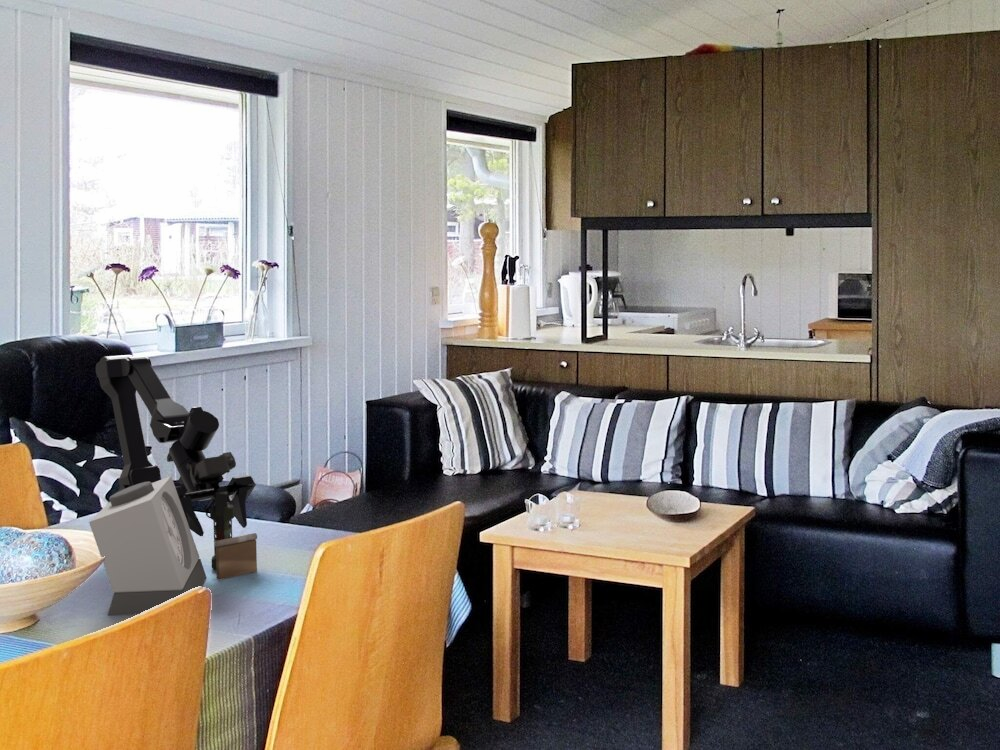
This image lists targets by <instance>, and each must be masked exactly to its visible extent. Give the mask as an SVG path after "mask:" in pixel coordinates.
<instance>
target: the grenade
mask: <svg viewBox="0 0 1000 750" xmlns="http://www.w3.org/2000/svg"><path fill="white" fill-rule="evenodd" d="M227 494H228V492H217V493H216V494H215V495H214V496H213V498H212V499H209V501H207V504H205V505H204V506H203V509H202V510H203V512H205V516H206V517H207V518H208V519H211V520H212V521H213V543H214V542H215V541H218V540H223V539H228V538H233V519H234V518H235V516H234V515H235V508H234V506H233V505H230V503H228V502H227V501H230V502H233V501H231V500H230V499H229V496H230V493H229V494H228V499H229V500H228V499H227ZM233 503H235V502H233ZM208 514H209V515H208ZM213 547H214V551H213V552H214V554H213V556H212V557H211V569H212V570H213V571H216V547H215V545H214V544H213Z"/></svg>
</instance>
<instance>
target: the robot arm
mask: <svg viewBox="0 0 1000 750" xmlns="http://www.w3.org/2000/svg"><path fill="white" fill-rule="evenodd" d="M95 375H96V377H97V378H98V381H99V385H100V388H101V390H102V391H103V392H104V393H105V394H106V395H107V396H108V397H109V398H110V401H111V403H112V407H113V414H114V419H115V425H116V428H117V434H118V440H119V445H120V449H121V454H122V455H121V456H122V461H123V468H122V471H121V473H120V476H119V477H118V484H119V485H118V486H119V489H118V490H117V492H119V491H121V490H123V489H126V488H128V487H131V486H133V485H136V484H139V483H143V482H148V481H149V482H151V483H153V482H156V481H159V480H162V476H161V469H160V468H159V466H158V465H153V464H152V463H151V461H149V458H148V454H147V449H146V447H147V446H146V444H145V442H146V441H145V438H144V433H143V426H142V423H141V418H140V413H139V408H138V403H137V402H138V401H137V395H136V392H137V393H138V395H139V397H140V398H141V401H142V402H143V403H144V405H145V407H146V408H147V409H146V410H147V411H148V413H149V414H150V423H149V426H150V428H151V431H152V435H153V437H154V438H155V439H156V440H157V442H159V443H160V444H164V443H172V442H173V443H172V445H171V446H170V447H169V449H168V453H167V456H166V461H167V462H168V463H170V462H173V463H174V466H175V467H176V470H177V472H178V474H179V479H178V483H179V484H180V485H176V486H175V488H176V491H177V494H178V497H179V499H180V502H181V505H182V508H183V511H184V514H185V517H186V519H187V522H188V525H189V528H190V531H192V532H194V533H195V534H196V535H197V536H199V537H203V535H204V534H205V532H204V528H203V527H202V526H203V525H202V524H201V522H200V520H199V518H198V515H197V514H196V512H195V510H194V508H193V502H198V501H199V502H200V501H207V500H211V499H212V498H213V496H214V495H215V494H216V493H217V492H228V494H229V493H230V496H229V499H230V500H231V501H233V502H235V503H233V502H230V501H227V503H228V504H230V505H233V506H234V508H235V515H234V518H235V519H236V521H237V522H238V524H239V525H240V526H241V527H242V528H243V529H245V528H246V527H247V525H248V522H247V521H248V520H247V509H246V507H247V505H246V504H247V503H246V501H247V500H248V498H249V497H250V495H251V494H252V492H253V490H254V489H255V487H256V482H255V480H254V478H253V477H252V476H251V475H249V474H247V475H246V474H245V475H239V476H234V477H232V478H231V479H230V481H229V482H228V484H227V485H224V486H220V483H222V482H223V480H224V477H223V475H225V474H227V473H230V472H231V470H232V469H234V468H236V466H237V464H236V463H237V462H236V459H235V457H234V455H233V454H232V452H231V451H228V452H222V454H219V455H218V456H211V457H207V458H206V456H205V454H204V452H203V451H204V450H206V449H207V448H208V447H209V446H210V444H211V442H212V440H213V439H214V437H215V435H216V433H217V432H218V429H219V427H220V422H219V419H218V417H216V416H215V415H214V414H212V413H210V412H209V411H205V410H203V408H202V406H192V407H191V408H190V409H189V411H188V410H187V408H185V406H184V405H182V404H179V403H177V402H176V401H174V400H173V399H172V397H171V396H170V395H169V393H168V391H167V390H166V388H165V386H164V384H163V383H162V382H161V380H160V378H159V377H158V375H157V373H156V371H155V370H154V369H153V367H152V361H151V359H150V358H149V357H148V356H145V355H144V356H143V355H141V356H140V355H139V356H134V355H132V354H124V355H123V354H121V355H109V356H108V355H107V356H102V357H101V358H100V360H99V361H98V362H97V363H96V364H95ZM228 494H227V499H228ZM213 499H214V498H213ZM213 499H212V500H213ZM229 499H228V500H229Z"/></svg>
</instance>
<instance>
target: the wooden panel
mask: <svg viewBox="0 0 1000 750" xmlns="http://www.w3.org/2000/svg"><path fill="white" fill-rule="evenodd" d="M257 540H258V534H257V533H256V532H255V533H249V534H244V535H239V536H232V538H228V539H223V540H218V541H215V542H214V541H213V546H214V545H215V547H216V570H215V571H216V572H215V573H216V579H217V580H219V581H221V580H223V579H228V578H233V577H237V576H242V575H246V574H249V573H251V574H252V573H254V572H258V563H257V562H258V561H257V560H258V559H257V558H258V555H257V554H258V553H257Z"/></svg>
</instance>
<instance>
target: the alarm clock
mask: <svg viewBox="0 0 1000 750" xmlns="http://www.w3.org/2000/svg"><path fill="white" fill-rule="evenodd" d="M88 523H89V526H90V529H91V532H92V535H93V538H94V541H95V544H96V546H97V548H98V552H99V554H100V557H104V556H105V557H107V558H106V559H105V561H104V562H103V561H102V563H103V566H104V568H105V571H106V574H107V577H108V580H109V583H110V585H111V589H112V592H113V595H112V599H111V601H110V606H109V609H108V612H107V616H122V615H124V616H126V615H139V614H138V613H141V612H143V611H145V610H148V609H150V608H152V607H154V606H156V605H159V604H161V603H163V602H165V601H167V600H169V599H171V598H174V597H176V596H178V595H180V594H182V593H184V592H186V591H188V590H190V589H192V588H195V587H198V586H204V584H205V582H206V580H207V575H206V571H205V568H204V565H203V563H202V560H201V558H200V555H199V551H198V549H197V546H196V543H195V542H196V541H194V536H193V535H192V532H191V531H192V530H191V529H190V528H189V525H188V522H187V519H186V517H185V514H184V511H183V508H182V505H181V502H180V499H179V497H178V494H177V491H176V488H175V483H174V480H173V477H172V476H171V475H170V476H168V477H165V478H163V479H162V478H161V480H159V481H156V482H153V483H151V482H149V481H148V482H143V483H139V484H136V485H133V486H131V487H128V488H126V489H123V490H121V491H119V492H118V491H116V492H114V494H112V495H111V496H109V502H108V503H107V504H106V505H105V506H103V508H102V509H101V510H100V511H99V512H98V513H96V515H95V516H93V518H92V519H90V520H89V521H88ZM135 613H136V614H135Z"/></svg>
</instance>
